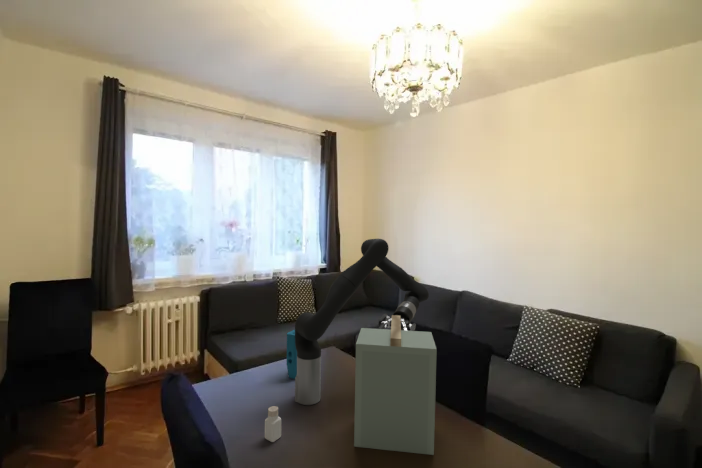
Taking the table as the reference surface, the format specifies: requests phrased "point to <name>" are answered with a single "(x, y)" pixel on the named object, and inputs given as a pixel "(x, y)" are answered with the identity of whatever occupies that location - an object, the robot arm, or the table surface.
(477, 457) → the table surface
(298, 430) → the table surface
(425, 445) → the tall sage green box
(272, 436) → the salt shaker
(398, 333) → the slat
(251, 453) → the table surface
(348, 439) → the table surface
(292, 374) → the block
